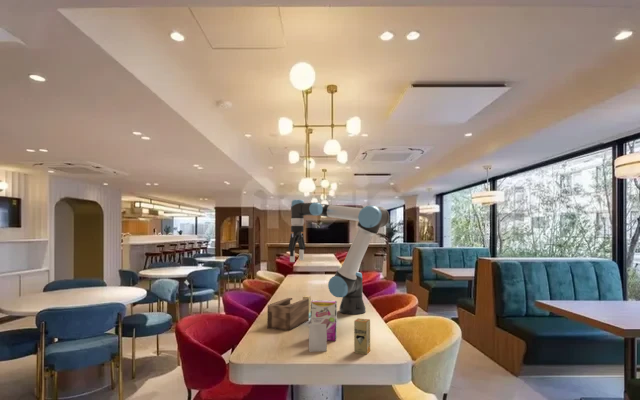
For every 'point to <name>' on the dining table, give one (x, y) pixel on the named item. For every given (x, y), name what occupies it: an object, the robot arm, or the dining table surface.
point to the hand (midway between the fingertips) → (296, 261)
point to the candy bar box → (325, 316)
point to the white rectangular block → (317, 337)
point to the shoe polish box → (362, 336)
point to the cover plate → (309, 304)
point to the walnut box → (287, 314)
